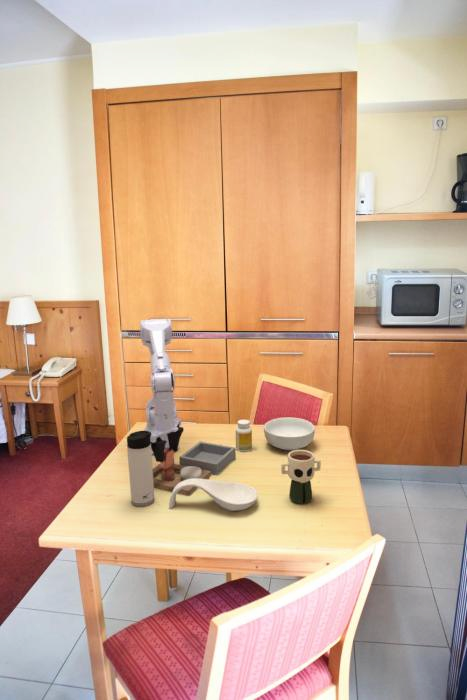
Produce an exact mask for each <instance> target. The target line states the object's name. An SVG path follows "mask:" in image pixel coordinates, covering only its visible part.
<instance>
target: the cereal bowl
mask: <svg viewBox="0 0 467 700" xmlns="http://www.w3.org/2000/svg"><path fill="white" fill-rule="evenodd" d="M315 429H316V427H315V425H314V423H312V422H311V421H309V420H307V419H303V418H299V417H277V418H274V419H270V420H268V421H267V422H266V423H265V424H264V427H263V433H264V438H265V439H266V442H268V443H269V444H270V445H272V446H273V447H275V448H278V449H281V450H283V451H290V452H291V451H294V450H301V449H303V448H305V447H306V446H308V445H310V444H311V443H312V442H313V440H314V438H315V433H316V431H315Z"/></svg>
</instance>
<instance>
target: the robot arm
mask: <svg viewBox="0 0 467 700" xmlns="http://www.w3.org/2000/svg"><path fill="white" fill-rule="evenodd" d="M139 325H140V326H139V328H140V330H139V331H140V338H141V343H142V346H145V347H148V350H149V353H150V360H149V361H150V371H151V372H150V373H151V374H150V387H151V392H152V397H150V399H149V400H148V401H147V402H146V404H145V415H146V425H145V427H144V428H143V429H144V430H143V431H149V432H151V436H150V441H151V452H152V455H153V457H154V459H155V461H156V462H158V463H160V462H163V460H164V448H172V449H173V452H174V453H177V452H178V451H179V449H180V446H179V443H180V439H181V436H182V434H183V432H184V427H182V419H181V418H178V412H177V406H176V401H175V400H174V392H175V387H176V383H175V382H176V381H175V375H174V371H173V369H172V367H171V366H172V365H171V358H170V355H169V354H167V353H166V346H167V345H169V344H171V341H172V335H173V330H172V329H173V327H172V326H173V325H172V320H171V319H170V317H168V318H160V319H159V318H158V319H145V320H144V319H141V320H140V322H139Z"/></svg>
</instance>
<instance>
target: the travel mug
mask: <svg viewBox="0 0 467 700" xmlns="http://www.w3.org/2000/svg"><path fill="white" fill-rule="evenodd" d="M150 436H151V432H149V431H144V430H139V431H138V430H137V431H134V432H131V433H129V435H128V436H126V447H127V450H126V451H127V462H128V473H129V474H128V476H129V489H130V499H131V504H132V505H133V506H135V507H142V508H143V507H147V506H148V507H149V506H150V505H152V504H153V503H154V501H155V488H154V483H153V468H154V467H153V456H152V455H153V454H152V452H151V441H150Z"/></svg>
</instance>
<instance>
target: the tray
mask: <svg viewBox="0 0 467 700" xmlns="http://www.w3.org/2000/svg"><path fill="white" fill-rule="evenodd" d="M236 450H237V449H236V447H233V446H227V445H223V444H217V443H211V442H206V441H198V442H197V443H196V444H194V445H193V446H192V447H190V448H189V449H188V450H187V451H185V452H183V454H181V455H180V456H179V465H183V466H196V467H199V468H200V469H203V470H208V471H211V475H215V476H218V475H219V474H220V473H221V472H222V471H223V470H224V469H226V468H227V467H228V466H229V465H230V464H231V463H232V462H233V461H234V460H235V459H236V458H237V456H236V455H237V454H236V453H237V451H236Z"/></svg>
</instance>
